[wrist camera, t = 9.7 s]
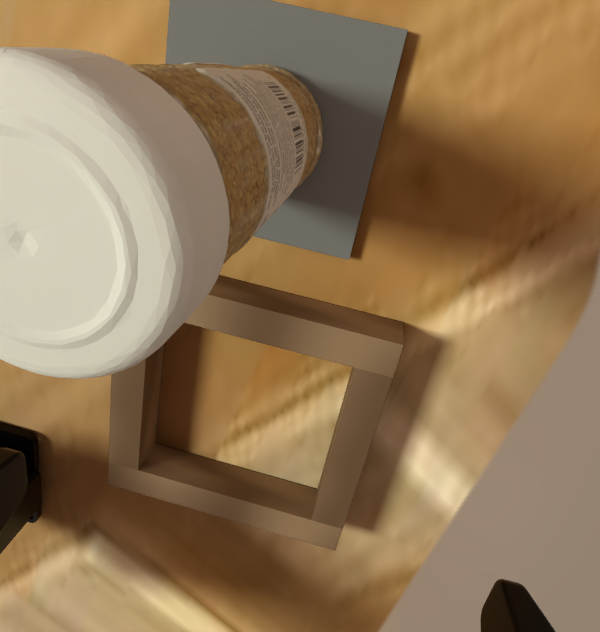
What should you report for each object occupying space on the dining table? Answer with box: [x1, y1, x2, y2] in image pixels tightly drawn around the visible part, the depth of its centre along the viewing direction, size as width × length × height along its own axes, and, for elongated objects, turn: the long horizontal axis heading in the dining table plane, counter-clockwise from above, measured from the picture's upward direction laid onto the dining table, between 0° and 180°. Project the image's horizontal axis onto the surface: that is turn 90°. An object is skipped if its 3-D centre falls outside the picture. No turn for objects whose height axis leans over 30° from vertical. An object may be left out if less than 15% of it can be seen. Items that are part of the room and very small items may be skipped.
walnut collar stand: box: [108, 275, 404, 550], centre depth 23 cm, size 12×12×2 cm
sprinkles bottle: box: [0, 47, 323, 379], centre depth 13 cm, size 5×5×13 cm
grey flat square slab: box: [166, 0, 408, 260], centre depth 19 cm, size 8×8×1 cm
